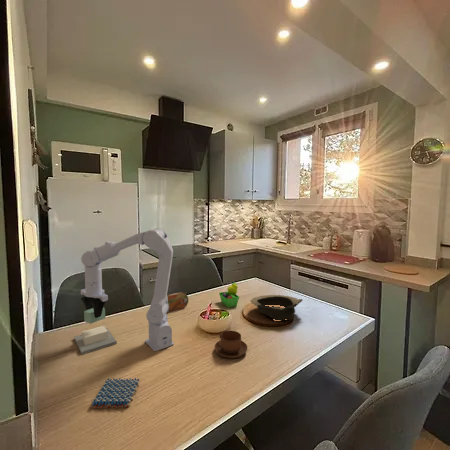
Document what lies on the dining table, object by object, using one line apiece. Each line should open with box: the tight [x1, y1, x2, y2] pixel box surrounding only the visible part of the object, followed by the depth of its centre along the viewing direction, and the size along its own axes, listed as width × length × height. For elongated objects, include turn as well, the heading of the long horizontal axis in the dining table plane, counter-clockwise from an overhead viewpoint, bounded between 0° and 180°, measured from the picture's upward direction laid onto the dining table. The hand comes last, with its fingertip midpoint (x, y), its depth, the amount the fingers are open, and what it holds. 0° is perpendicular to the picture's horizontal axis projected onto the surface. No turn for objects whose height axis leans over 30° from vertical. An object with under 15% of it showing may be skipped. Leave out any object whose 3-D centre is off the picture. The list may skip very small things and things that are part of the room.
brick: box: [83, 307, 106, 325], centre depth 101 cm, size 4×6×4 cm, turn 149°
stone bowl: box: [250, 294, 303, 320], centre depth 129 cm, size 25×25×9 cm
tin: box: [166, 292, 189, 314], centre depth 133 cm, size 15×3×8 cm, turn 125°
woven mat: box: [90, 377, 140, 409], centre depth 73 cm, size 10×11×2 cm
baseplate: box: [73, 325, 117, 356], centre depth 101 cm, size 14×12×4 cm
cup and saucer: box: [214, 330, 248, 359], centre depth 95 cm, size 12×12×6 cm
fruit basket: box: [218, 282, 240, 308], centre depth 141 cm, size 11×9×11 cm
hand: (94, 315), depth 101 cm, fingers closed on brick, 4 cm apart
